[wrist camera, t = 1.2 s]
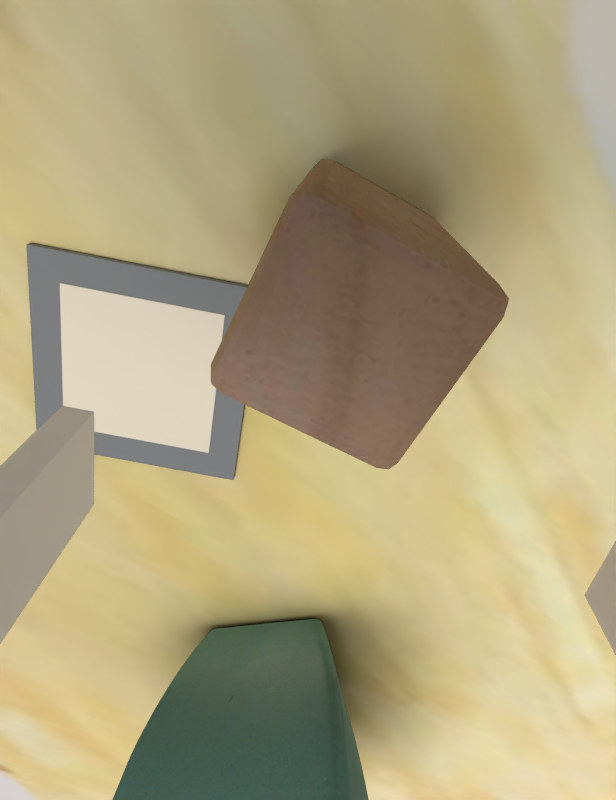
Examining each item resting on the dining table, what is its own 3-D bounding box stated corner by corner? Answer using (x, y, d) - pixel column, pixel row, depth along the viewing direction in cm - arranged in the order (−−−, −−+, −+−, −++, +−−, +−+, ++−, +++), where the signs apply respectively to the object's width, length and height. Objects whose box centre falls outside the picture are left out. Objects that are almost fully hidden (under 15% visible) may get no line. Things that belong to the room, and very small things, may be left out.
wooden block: (443, 222, 39) (526, 302, 21) (372, 337, 43) (392, 484, 25) (321, 152, 37) (300, 174, 20) (260, 278, 42) (196, 391, 24)
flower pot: (379, 711, 64) (402, 1089, 39) (218, 722, 67) (142, 1082, 42) (351, 587, 56) (358, 970, 30) (168, 606, 58) (34, 971, 33)
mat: (30, 242, 42) (25, 244, 41) (261, 288, 42) (260, 290, 41) (40, 440, 50) (36, 444, 49) (234, 476, 50) (232, 480, 50)
